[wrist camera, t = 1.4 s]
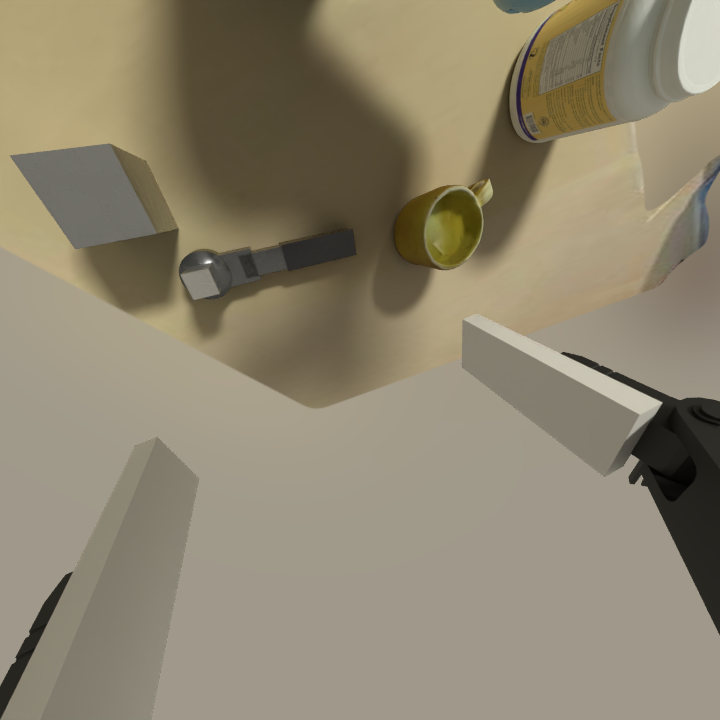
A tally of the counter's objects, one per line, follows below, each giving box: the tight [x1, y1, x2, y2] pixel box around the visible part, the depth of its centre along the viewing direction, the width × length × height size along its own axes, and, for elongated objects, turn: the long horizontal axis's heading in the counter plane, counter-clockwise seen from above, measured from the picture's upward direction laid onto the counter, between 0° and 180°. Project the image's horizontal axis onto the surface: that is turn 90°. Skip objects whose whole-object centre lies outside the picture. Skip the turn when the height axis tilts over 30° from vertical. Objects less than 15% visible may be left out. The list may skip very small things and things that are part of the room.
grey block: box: [10, 144, 179, 249], centre depth 23 cm, size 6×6×8 cm
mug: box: [394, 179, 493, 270], centre depth 35 cm, size 12×10×10 cm
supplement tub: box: [509, 0, 720, 143], centre depth 28 cm, size 12×12×17 cm
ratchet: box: [179, 228, 356, 300], centre depth 31 cm, size 21×5×6 cm, turn 100°
